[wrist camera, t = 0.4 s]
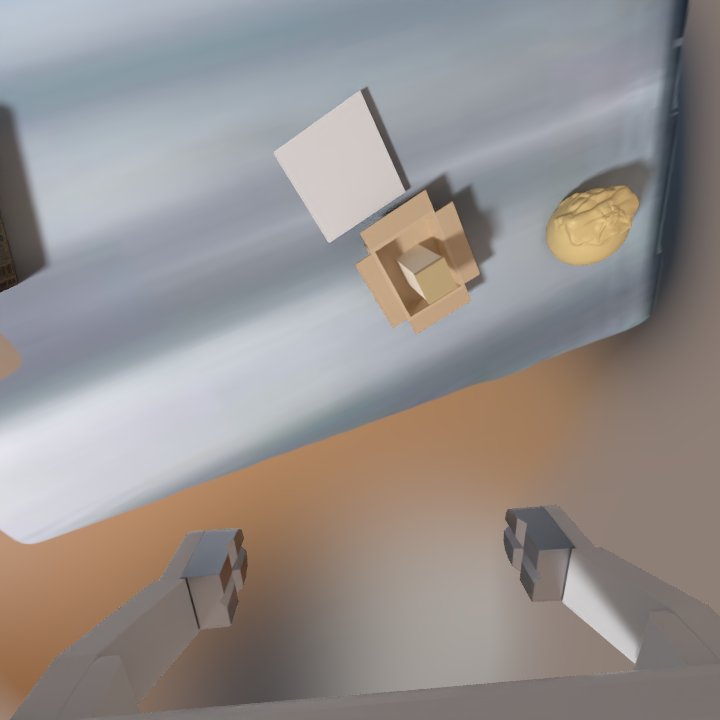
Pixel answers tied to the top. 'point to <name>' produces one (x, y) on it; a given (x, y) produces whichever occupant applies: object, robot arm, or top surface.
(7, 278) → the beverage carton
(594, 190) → the sculpture
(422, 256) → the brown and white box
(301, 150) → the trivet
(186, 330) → the top surface
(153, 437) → the top surface
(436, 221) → the carton
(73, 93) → the top surface
